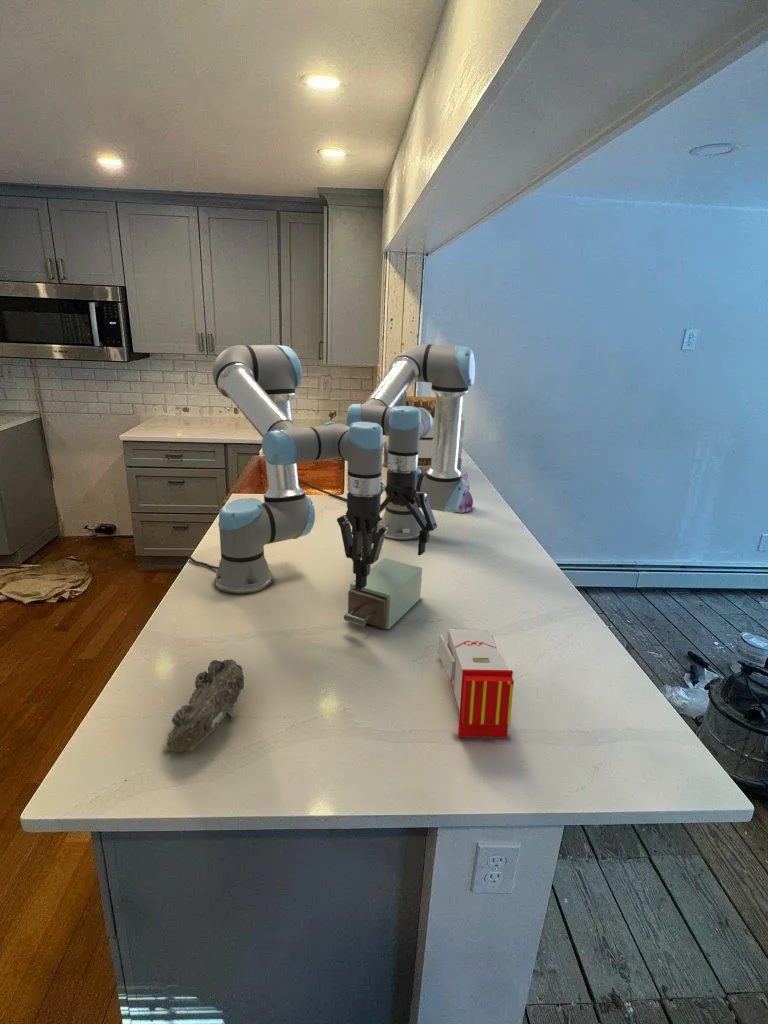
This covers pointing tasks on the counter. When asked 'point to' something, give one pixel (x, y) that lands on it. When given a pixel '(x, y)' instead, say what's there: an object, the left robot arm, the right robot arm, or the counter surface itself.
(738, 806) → the counter surface
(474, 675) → the toy
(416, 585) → the cabinet
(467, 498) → the figurine
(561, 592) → the counter surface
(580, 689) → the counter surface
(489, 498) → the counter surface
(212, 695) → the fossil
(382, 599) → the drawer
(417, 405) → the white storage organizer
